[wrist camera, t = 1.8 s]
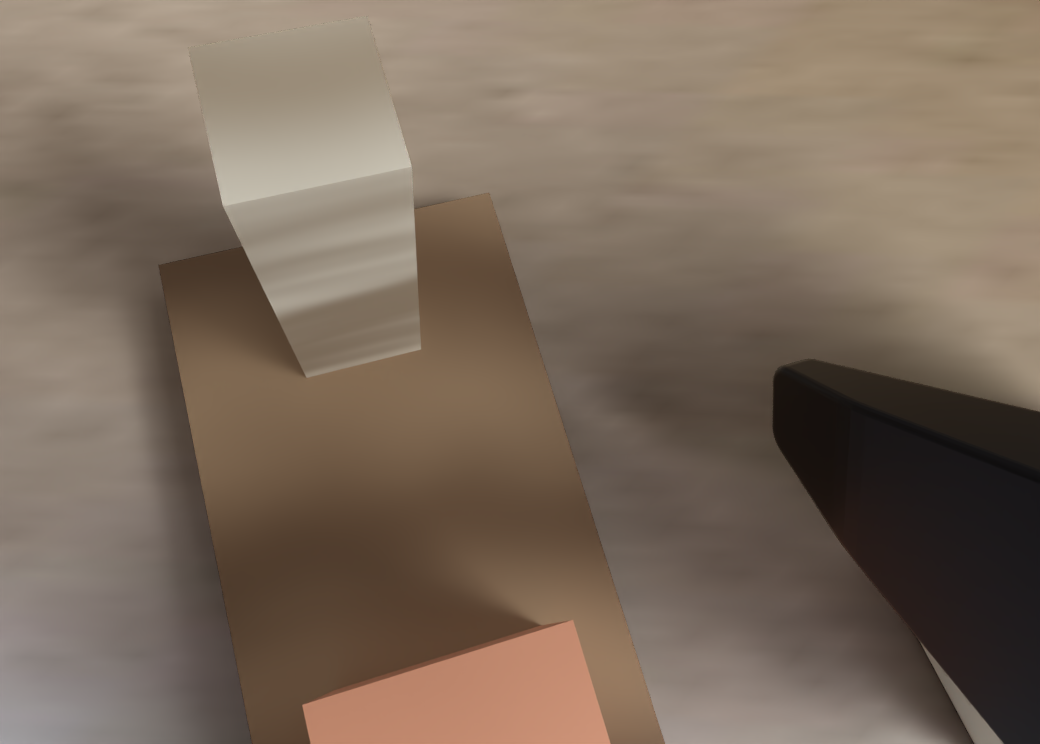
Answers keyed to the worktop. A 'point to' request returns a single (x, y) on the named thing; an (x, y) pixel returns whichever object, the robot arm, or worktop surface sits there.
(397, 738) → the cube
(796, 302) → the worktop surface
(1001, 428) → the robot arm
